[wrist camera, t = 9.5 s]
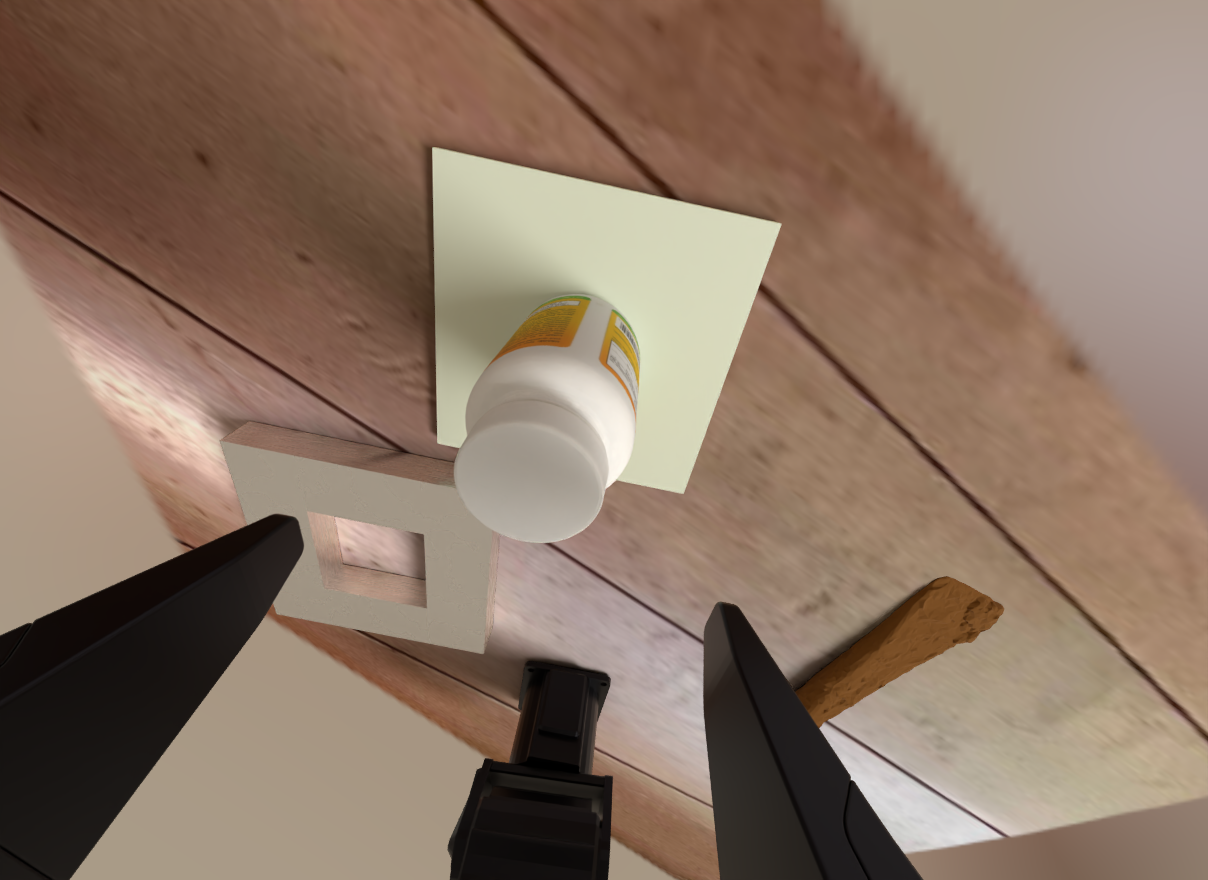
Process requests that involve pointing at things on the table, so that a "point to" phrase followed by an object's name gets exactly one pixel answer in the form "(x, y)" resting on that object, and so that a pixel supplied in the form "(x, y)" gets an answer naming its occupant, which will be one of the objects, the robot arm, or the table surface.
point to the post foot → (381, 497)
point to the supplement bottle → (551, 421)
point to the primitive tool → (900, 645)
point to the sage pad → (593, 290)
